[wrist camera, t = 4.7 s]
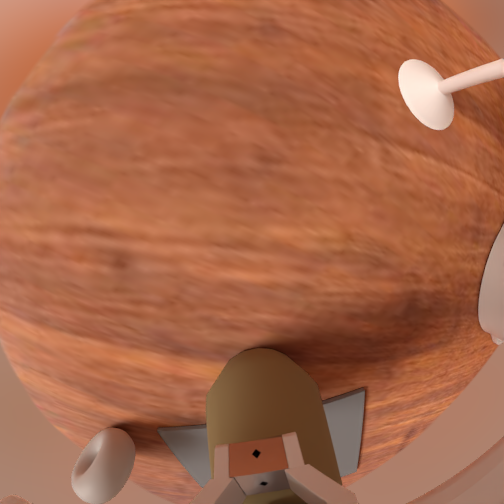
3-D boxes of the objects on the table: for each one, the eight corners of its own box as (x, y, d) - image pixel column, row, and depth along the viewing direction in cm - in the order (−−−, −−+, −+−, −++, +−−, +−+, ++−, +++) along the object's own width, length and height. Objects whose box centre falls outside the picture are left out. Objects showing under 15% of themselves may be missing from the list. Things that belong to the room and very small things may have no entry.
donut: (122, 407, 20) (91, 487, 11) (150, 427, 21) (130, 507, 11) (84, 435, 21) (58, 495, 12) (108, 451, 22) (87, 512, 12)
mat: (362, 387, 22) (364, 390, 21) (355, 469, 26) (356, 471, 25) (158, 427, 21) (157, 431, 21) (213, 497, 25) (213, 500, 25)
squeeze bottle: (327, 366, 20) (422, 556, 3) (261, 420, 21) (290, 597, 4) (255, 313, 19) (316, 601, 1) (188, 379, 20) (159, 596, 2)
